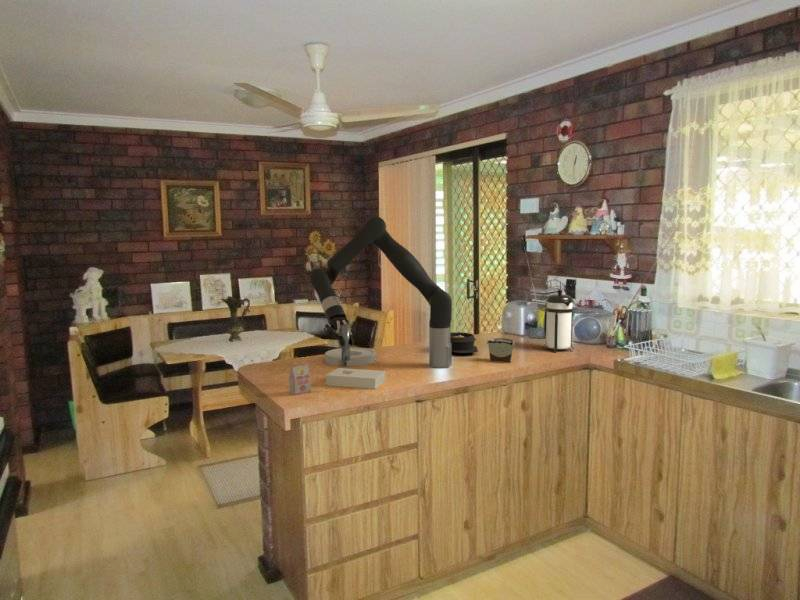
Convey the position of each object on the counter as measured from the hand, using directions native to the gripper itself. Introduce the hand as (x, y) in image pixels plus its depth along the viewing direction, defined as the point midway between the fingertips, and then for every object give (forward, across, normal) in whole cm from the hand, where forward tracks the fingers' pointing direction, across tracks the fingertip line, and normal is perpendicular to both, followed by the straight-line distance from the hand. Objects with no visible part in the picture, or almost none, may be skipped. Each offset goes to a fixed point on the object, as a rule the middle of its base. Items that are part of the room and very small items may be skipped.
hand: (348, 344), depth 220 cm
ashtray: (-14, +20, +36) cm, 44 cm away
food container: (+14, +76, +7) cm, 78 cm away
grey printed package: (+12, -21, +10) cm, 26 cm away
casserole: (-5, +73, +27) cm, 78 cm away
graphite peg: (+3, 0, +6) cm, 7 cm away
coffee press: (+12, +115, +9) cm, 116 cm away
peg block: (+12, +3, +10) cm, 16 cm away
